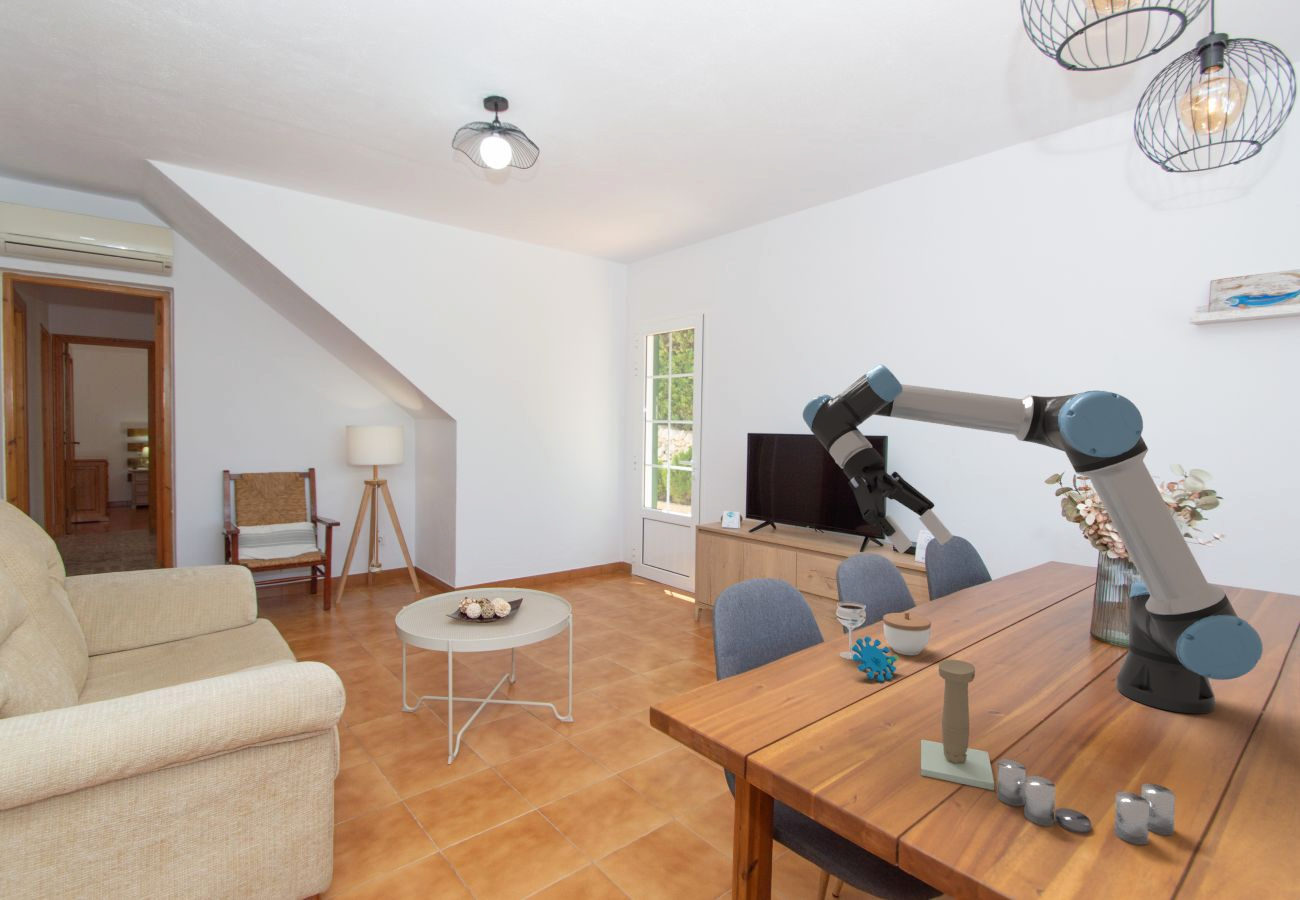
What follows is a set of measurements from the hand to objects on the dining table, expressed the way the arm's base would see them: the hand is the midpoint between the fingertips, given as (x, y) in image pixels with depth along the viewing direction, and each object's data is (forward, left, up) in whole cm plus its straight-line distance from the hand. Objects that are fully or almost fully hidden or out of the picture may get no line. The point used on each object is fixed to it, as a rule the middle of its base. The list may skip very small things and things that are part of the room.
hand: (927, 545), depth 113 cm
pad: (-4, +14, -33) cm, 36 cm away
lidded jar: (+4, -38, -33) cm, 51 cm away
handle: (-4, +14, -32) cm, 35 cm away
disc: (-18, +24, -33) cm, 45 cm away
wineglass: (+16, -29, -33) cm, 47 cm away
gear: (+10, -19, -33) cm, 39 cm away
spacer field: (-20, +22, -33) cm, 44 cm away
